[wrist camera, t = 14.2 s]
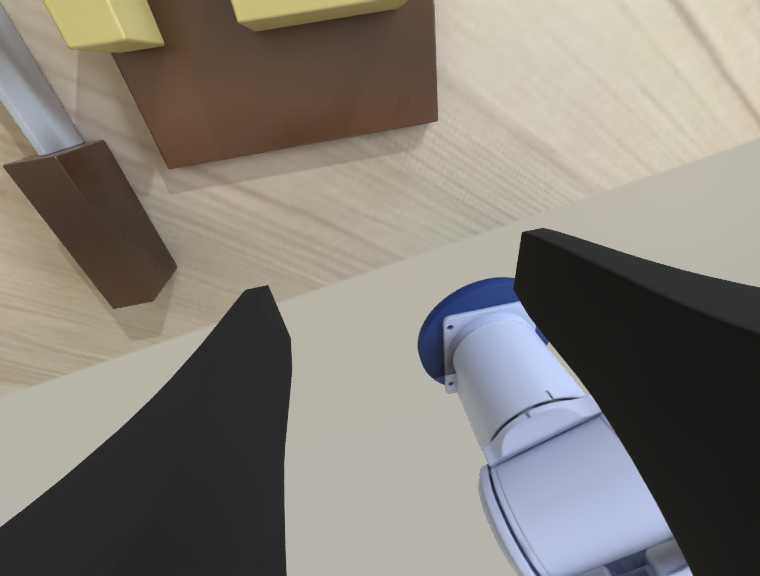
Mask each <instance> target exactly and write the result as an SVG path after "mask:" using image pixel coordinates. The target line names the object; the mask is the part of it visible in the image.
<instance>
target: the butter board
mask: <svg viewBox="0 0 760 576" xmlns="http://www.w3.org/2000/svg"><path fill="white" fill-rule="evenodd" d="M147 2H148V4H149V7H150V9H151V12H152V14H153V17H154V19H155V21H156V24H157V26H158V29H159V31H160V34H161V36H162V38H163V41H164V44H165V45H164V46H161V47H155V48H149V49H142V50H136V51H130V52H124V53H116V52H111V54H112V56H113V58H114V60H115V62H116V64H117V66H118V68H119V70H120V72H121V74H122V76H123V78H124V80H125V82H126V84H127V86H128V88H129V90H130V92H131V94H132V96H133V98H134V100H135V102H136V104H137V106H138V108H139V110H140V112H141V114H142V116H143V118H144V120H145V122H146V124H147V126H148V128H149V130H150V132H151V134H152V136H153V138H154V140H155V142H156V144H157V146H158V148H159V150H160V152H161V154H162V156H163V158H164V160H165V162H166V164H167V166H168V168H169V169H173V168H178V167H184V166H190V165H195V164H201V163H207V162H212V161H218V160H223V159H229V158H235V157H240V156H246V155H251V154H257V153H263V152H268V151H274V150H279V149H285V148H291V147H296V146H302V145H308V144H313V143H319V142H324V141H330V140H336V139H341V138H347V137H352V136H358V135H364V134H369V133H375V132H381V131H386V130H392V129H397V128H403V127H409V126H414V125H420V124H425V123H431V122H437V121H438V102H437V71H436V39H435V7H434V0H408V1H407V2H406V3H404V4H403V5H402V6H400V7H399V8H398V9H392V10H386V11H380V12H374V13H368V14H362V15H355V16H349V17H343V18H337V19H331V20H325V21H318V22H312V23H306V24H300V25H294V26H287V27H281V28H275V29H269V30H263V31H257V32H255V31H253V30H251V29H249V28H247V27H246V26H244V25H242V24H240V23H238V21H237V19H236V16H235V13H234V9H233V6H232V3H231V0H147Z"/></svg>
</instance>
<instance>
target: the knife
mask: <svg viewBox="0 0 760 576" xmlns="http://www.w3.org/2000/svg"><path fill="white" fill-rule="evenodd" d="M0 101H1V102H2V104H3V105H4V107H5V108H6V109H7V111H8V112H9V114H10V115H11V117H12V118H13V119H14V121H15V122H16V124H17V125H18V127H19V128H20V129H21V131H22V132H23V134H24V135H25V137H26V138H27V139H28V141H29V142H30V144H31V145H32V147H33V148H34V149H35V151H36V152H37V155H34V156H30V157H27V158H24V159H21V160H18V161H14V162H11V163H8V164H5V165H3V168H4V169H5V170H6V171H7V173H8V174H9V175H10V177H11V178H12V179H13V180H14V182H15V183H16V184H17V186H18V187H19V188H20V189H21V191H22V192H23V193H24V195H25V196H26V197H27V198H28V200H29V201H30V202H31V204H32V205H33V206H34V207H35V209H36V210H37V211H38V213H39V214H40V215H41V216H42V218H43V219H44V220H45V222H46V223H47V224H48V226H49V227H50V228H51V229H52V231H53V232H54V233H55V235H56V236H57V237H58V238H59V240H60V241H61V242H62V244H63V245H64V246H65V247H66V249H67V250H68V251H69V253H70V254H71V255H72V256H73V258H74V259H75V260H76V262H77V263H78V264H79V265H80V267H81V268H82V269H83V271H84V272H85V273H86V274H87V276H88V277H89V278H90V280H91V281H92V282H93V283H94V285H95V286H96V287H97V289H98V290H99V291H100V292H101V294H102V295H103V296H104V298H105V299H106V300H107V301H108V303H109V304H110V305H111V307H112V308H113V309H116V308H121V307H127V306H132V305H137V304H142V303H147V302H152V301H154V300H155V298H156V297H157V295H158V294H159V293H160V291H161V290H162V288H163V287H164V286H165V284H166V283H167V281H168V280H169V279H170V277H171V276H172V274H173V273H174V272H175V270H176V269H177V266H176V264H175V262H174V261H173V259H172V257H171V255H170V254H169V252H168V250H167V249H166V247H165V245H164V243H163V242H162V240H161V238H160V236H159V235H158V233H157V231H156V229H155V228H154V226H153V224H152V223H151V221H150V219H149V217H148V216H147V214H146V212H145V210H144V209H143V207H142V205H141V204H140V202H139V200H138V198H137V197H136V195H135V193H134V191H133V190H132V188H131V186H130V184H129V183H128V181H127V179H126V178H125V176H124V174H123V172H122V171H121V169H120V167H119V165H118V164H117V162H116V160H115V159H114V157H113V155H112V153H111V152H110V150H109V148H108V146H107V145H106V143H105V141H104V140H100V141H94V142H88V143H85V142H84V140H83V138H82V137H81V135H80V133H79V132H78V130H77V129H76V127H75V125H74V124H73V122H72V120H71V119H70V117H69V115H68V114H67V112H66V111H65V109H64V107H63V106H62V104H61V102H60V101H59V99H58V97H57V96H56V94H55V93H54V91H53V89H52V88H51V86H50V84H49V83H48V81H47V79H46V78H45V76H44V75H43V73H42V71H41V70H40V68H39V66H38V65H37V63H36V61H35V60H34V58H33V57H32V55H31V53H30V52H29V50H28V48H27V47H26V45H25V43H24V42H23V40H22V39H21V37H20V35H19V34H18V32H17V30H16V29H15V27H14V25H13V24H12V22H11V21H10V19H9V17H8V16H7V14H6V12H5V11H4V9H3V7H2V6H1V4H0Z"/></svg>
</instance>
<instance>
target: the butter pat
mask: <svg viewBox="0 0 760 576" xmlns="http://www.w3.org/2000/svg"><path fill="white" fill-rule="evenodd" d="M43 2H44V4H45V6H46V8H47V10H48V11H49V13H50V15H51V17H52V19H53V20H54V22H55V24H56V26H57V28H58V29H59V31H60V33H61V35H62V37H63V39H64V40H65V42H66V44H67V46H68V47H69V48H70V49H73V50H87V51H102V52H116V53H124V52H130V51H136V50H142V49H149V48H155V47H161V46H164V45H165V44H164V41H163V38H162V36H161V34H160V31H159V29H158V26H157V24H156V21H155V19H154V17H153V14H152V12H151V9H150V7H149V4H148V2H147V0H43Z"/></svg>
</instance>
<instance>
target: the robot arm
mask: <svg viewBox="0 0 760 576" xmlns="http://www.w3.org/2000/svg"><path fill="white" fill-rule="evenodd" d="M513 289H514V291H515V293H516V295H517V297H518V298H519V300H520V301H518V302H513V303H508V304H503V305H498V306H493V307H488V308H483V309H479V310H474V311H469V312H464V313H459V314H454V315H449V316H446V317H445V318H444V319H443V347H444V375H445V390H446V392H447V393H450V394H451V393H456V392H457V393H458V395H459V398H460V400H461V402H462V405H463V407H464V410H465V412H466V414H467V417H468V419H469V422H470V424H471V427H472V429H473V431H474V434H475V436H476V438H477V441H478V443H479V445H480V447H481V449H482V451H483V452H484V455H485V457H486V460H487V462H488V464H487V465H485V466H483V467H482V468H481V469H480V474H479V475H480V478H479V483H478V489H479V495H480V500H481V503H482V507H483V510H484V513H485V515H486V518H487V521H488V523H489V525H490V528H491V530H492V532H493V534H494V537H495V539H496V541H497V543H498V545H499V547H500V548H501V550H502V552H503V554H504V556H505V557H506V559H507V561H508V562H509V564H510V565H511V567H512V568H513V569H514V571H515V572H516V573H517V575H518V576H760V288H759V287H755V286H750V285H745V284H740V283H736V282H731V281H727V280H722V279H718V278H713V277H709V276H704V275H701V274H697V273H693V272H689V271H684V270H681V269H677V268H674V267H670V266H667V265H663V264H660V263H656V262H653V261H649V260H646V259H642V258H639V257H636V256H633V255H629V254H626V253H623V252H620V251H617V250H614V249H611V248H608V247H605V246H602V245H598V244H595V243H592V242H589V241H586V240H583V239H580V238H577V237H574V236H570V235H568V234H564V233H561V232H557V231H553V230H550V229H545V228H540V229H535V230H530V231H526V232H522V236H521V242H520V248H519V256H518V262H517V269H516V275H515V282H514V288H513ZM450 325H451V326H450ZM448 326H450V327H448ZM536 326H537V327H538V328H539V329H540V331H541V332H542V333H543V335H544V336H545V337H546V338H547V340H548V341H549V342H550V343H551V344H552V346H553V347H554V348H555V349H556V351H557V352H558V353H559V354H560V355H561V357H562V358H563V359H564V360H565V361H566V363H567V364H568V365H569V367H570V368H571V369H572V370H573V372H574V373H575V374H576V375H577V376H578V378H579V379H580V380H581V382H582V383H583V385H584V386H585V387H586V389H587V390H588V391H589V393H590V394H591V395H590V394H587V395H585V394H584V392H583V391H582V390H581V389H580V387H579V386H578V385H577V384H576V382H575V381H574V380H573V379H572V377H571V376H570V375H569V374H568V373H567V371H566V370H565V369H564V368H563V366H562V365H561V364H560V363H559V361H558V360H557V359H556V358H555V356H554V355H553V354H552V353H551V351H550V350H549V349H548V348H547V346H546V345H545V344H544V343H543V341H542V340H541V339H540V338H539V336H538V335H537V334H536V333H535V329H536ZM291 355H292V354H291V338H290V336H289V333H288V331H287V328H286V326H285V324H284V321H283V319H282V317H281V314H280V312H279V310H278V307H277V305H276V302H275V300H274V298H273V295H272V293H271V291H270V288H269V286H268V285H266V286H262V287H257V288H252V289H247V290H245V291H244V292H243V293H242V294H241V296H240V297H239V298H238V299H237V300H236V302H235V303H234V304H233V305H232V307H231V308H230V309H229V311H228V312H227V313H226V314H225V316H224V317H223V318H222V319H221V321H220V322H219V323H218V324H217V326H216V327H215V328H214V329H213V331H212V332H211V333H210V335H209V336H208V337H207V338H206V339H205V340H204V342H203V343H202V344H201V345H200V346H199V348H198V349H197V350H196V351H195V352H194V353H193V354H192V356H191V357H190V358H189V359H188V360H187V361H186V362H185V363H184V364H183V366H182V367H181V368H180V369H179V370H178V371H177V372H176V373H175V375H174V376H173V377H172V378H171V379H170V380H169V381H168V382H167V383H166V384H165V385H164V386H163V387H162V388H161V390H160V391H159V392H158V393H157V394H156V395H155V396H154V397H153V398H152V399H151V400H150V401H149V402H148V403H146V404H145V405H144V406H143V407H142V408H141V409H140V410H139V411H138V412H137V413H136V414H135V415H134V416H133V417H132V418H131V419H130V420H129V421H128V422H127V423H126V424H125V425H123V426H122V427H121V428H120V429H119V430H118V431H117V432H116V433H115V434H113V435H112V436H111V437H110V438H109V439H108V440H106V441H105V442H104V443H103V444H102V445H101V446H99V447H98V448H97V449H96V450H95V451H94V452H93V453H92V454H90V455H89V456H88V457H87V458H86V459H85V460H83V461H82V462H81V463H80V464H79V465H78V466H77V467H75V468H74V469H73V470H72V471H71V472H69V473H68V474H67V475H66V476H65V477H64V478H62V479H61V480H60V481H59V482H57V483H56V484H55V485H54V486H52V487H51V488H50V489H49V490H47V491H46V492H45V493H44V494H43V495H41V496H40V497H39V498H37V499H36V500H35V501H34V502H32V503H31V504H30V505H29V506H27V507H26V508H25V509H23V510H22V511H21V512H19V513H18V514H17V515H16V516H15V517H13V518H12V519H10V520H9V521H8V522H6V523H5V524H4V525H3V526H1V527H0V576H287V574H286V551H285V515H284V514H285V511H284V458H285V442H286V431H287V421H288V410H289V400H290V389H291V377H292V356H291Z"/></svg>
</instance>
